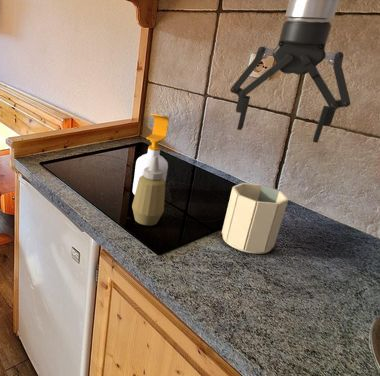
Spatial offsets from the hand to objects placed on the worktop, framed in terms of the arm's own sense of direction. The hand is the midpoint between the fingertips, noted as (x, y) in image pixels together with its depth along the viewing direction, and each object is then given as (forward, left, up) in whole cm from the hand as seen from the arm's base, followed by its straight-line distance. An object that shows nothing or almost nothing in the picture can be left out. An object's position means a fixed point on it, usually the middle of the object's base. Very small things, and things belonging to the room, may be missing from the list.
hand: (276, 134), depth 82 cm
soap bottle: (+29, -18, -29) cm, 45 cm away
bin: (0, -6, -29) cm, 29 cm away
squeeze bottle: (+24, -2, -29) cm, 38 cm away
